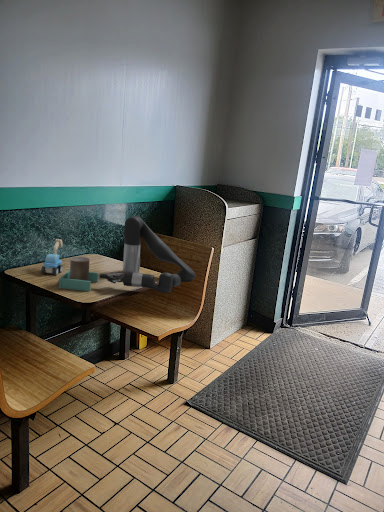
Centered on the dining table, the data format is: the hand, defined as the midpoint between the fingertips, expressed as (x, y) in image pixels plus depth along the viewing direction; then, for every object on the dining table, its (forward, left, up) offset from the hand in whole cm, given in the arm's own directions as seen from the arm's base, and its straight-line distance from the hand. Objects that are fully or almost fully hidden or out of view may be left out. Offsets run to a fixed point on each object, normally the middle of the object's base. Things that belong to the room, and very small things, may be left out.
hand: (100, 275), depth 218 cm
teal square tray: (+10, -4, -6) cm, 13 cm away
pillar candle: (+10, -5, -6) cm, 13 cm away
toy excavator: (+22, -27, -7) cm, 36 cm away
